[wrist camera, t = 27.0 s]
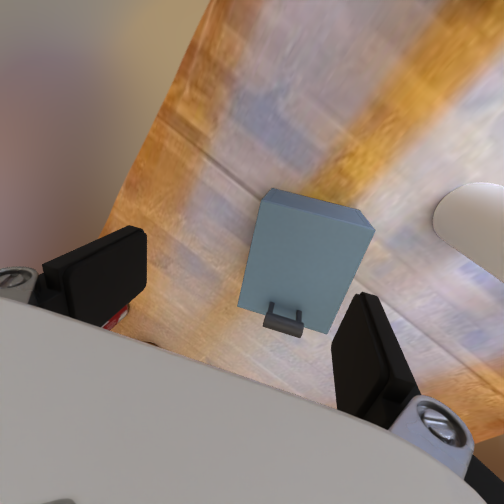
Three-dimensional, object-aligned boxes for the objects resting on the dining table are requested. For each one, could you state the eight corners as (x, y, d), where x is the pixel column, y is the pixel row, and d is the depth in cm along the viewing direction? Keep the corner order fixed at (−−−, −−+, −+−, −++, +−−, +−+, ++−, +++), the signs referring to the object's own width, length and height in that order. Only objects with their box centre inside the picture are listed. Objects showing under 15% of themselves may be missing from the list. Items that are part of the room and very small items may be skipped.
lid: (326, 330, 36) (329, 359, 31) (238, 303, 37) (227, 327, 32) (374, 228, 29) (387, 245, 24) (262, 199, 30) (253, 209, 25)
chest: (324, 293, 43) (328, 326, 35) (251, 272, 45) (239, 299, 37) (359, 210, 37) (374, 228, 29) (271, 187, 38) (262, 198, 30)
